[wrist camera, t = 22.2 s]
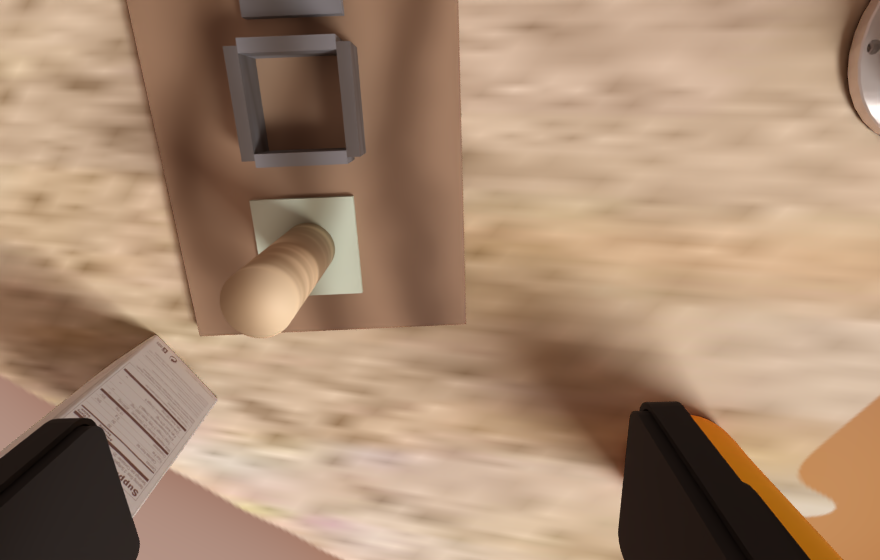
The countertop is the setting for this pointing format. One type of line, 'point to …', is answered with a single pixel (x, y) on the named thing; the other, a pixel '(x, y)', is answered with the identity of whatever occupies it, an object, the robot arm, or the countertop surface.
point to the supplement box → (139, 414)
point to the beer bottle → (768, 493)
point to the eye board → (313, 148)
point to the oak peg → (277, 281)
